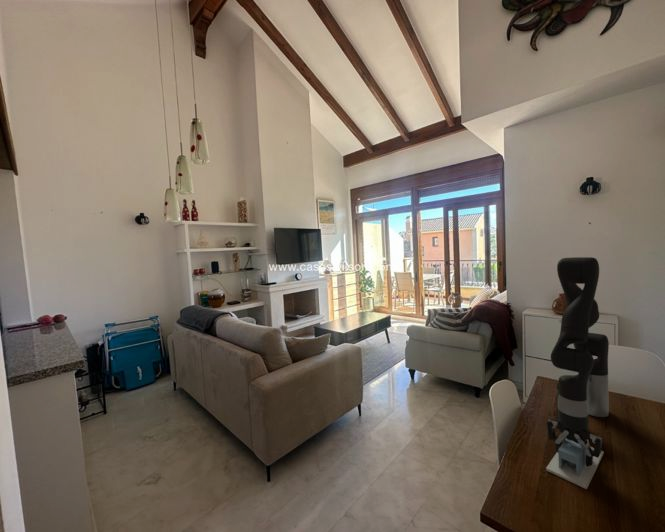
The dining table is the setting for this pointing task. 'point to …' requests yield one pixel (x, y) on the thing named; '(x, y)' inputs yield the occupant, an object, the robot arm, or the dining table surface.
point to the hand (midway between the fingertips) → (573, 459)
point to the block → (572, 455)
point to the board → (574, 470)
